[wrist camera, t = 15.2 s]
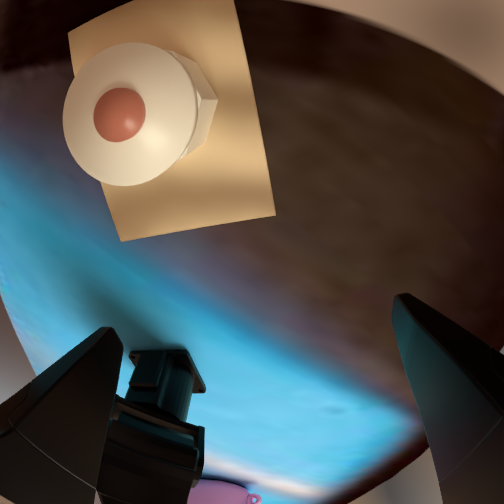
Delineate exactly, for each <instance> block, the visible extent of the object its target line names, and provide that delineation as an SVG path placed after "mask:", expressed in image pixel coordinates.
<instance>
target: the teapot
mask: <svg viewBox="0 0 504 504" xmlns="http://www.w3.org/2000/svg"><path fill="white" fill-rule="evenodd" d="M254 498H256V499H257V501H256V502H255V503H253V502H254ZM260 503H261V497H260V495H258V494H250V493H249V492H248V491H247V490H246V489H245V488H243V487H241V486H238V485H235V484H231V483H227V482H224V481H220V480H204V479H200V480H199V482H198V484H197V485H196V487H195V488H191V490H190V493H189V496H188V501H187V504H260Z"/></svg>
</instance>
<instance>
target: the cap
mask: <svg viewBox="0 0 504 504" xmlns="http://www.w3.org/2000/svg"><path fill="white" fill-rule="evenodd" d="M217 102H218V98H217V96H216V95H215V93H214V91H213V89H212V88H211V86H210V84H209V83H208V81H207V79H206V77H205V76H204V74H203V72H202V71H201V69H200V67H199V66H198V64H197V63H196V62H194V61H192V60H190V59H188V58H186V57H184V56H182V55H180V54H178V53H176V52H174V51H170V50H163V49H161V48H158V47H156V46H153V45H150V44H145V43H136V42H130V43H122V44H118V45H115V46H112V47H109V48H107V49H105V50H103V51H101V52H100V53H98V54H96V55H95V56H94V57H92V58H91V59H90V60H89V61H88V62H87V63H86V64H85V65H84V66H83V67H82V68H81V69H80V71H79V72H78V73H77V75H76V76H75V78H74V80H73V81H72V83H71V85H70V88H69V90H68V93H67V96H66V99H65V103H64V110H63V129H64V135H65V139H66V142H67V145H68V148H69V150H70V152H71V154H72V156H73V157H74V159H75V160H76V162H77V163H78V164H79V165H80V167H81V168H82V169H83V170H84V171H86V172H87V173H88V174H89V175H91V176H92V177H94V178H95V179H97V180H99V181H101V182H104V183H107V184H110V185H115V186H133V185H138V184H142V183H144V182H147V181H150V180H152V179H153V178H155V177H157V176H159V175H160V174H161V173H163V172H164V171H166V170H167V169H168V168H170V167H171V166H172V165H173V164H174V163H175V162H176V161H178V160H180V159H181V158H183V157H185V156H186V155H188V154H189V153H190V152H192V151H193V150H195V149H196V148H198V147H199V146H200V145H202V144H203V143H205V142H206V139H207V136H208V132H209V129H210V125H211V122H212V119H213V115H214V112H215V109H216V106H217Z"/></svg>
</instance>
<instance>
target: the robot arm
mask: <svg viewBox="0 0 504 504" xmlns="http://www.w3.org/2000/svg"><path fill="white" fill-rule="evenodd" d="M392 324H393V328H394V331H395V335H396V339H397V343H398V346H399V350H400V354H401V359H402V362H403V366H404V369H405V372H406V375H407V377H408V380H409V383H410V386H411V389H412V392H413V395H414V398H415V400H416V404H417V407H418V410H419V413H420V416H421V419H422V422H423V426H424V429H425V432H426V436H427V439H428V443H429V446H430V449H431V453H432V457H433V461H434V465H435V469H436V472H437V477H438V481H439V486H440V491H441V496H442V500H443V504H504V355H503V354H502V353H500V352H499V351H497V350H496V349H494V348H493V347H492V348H491V346H490V345H488V344H487V343H485V342H484V341H482V340H481V339H479V338H478V337H476V336H475V335H473V334H472V333H470V332H469V331H467V330H466V329H464V328H463V327H461V326H460V325H458V324H457V323H455V322H454V321H452V320H450V319H449V318H447V317H446V316H444V315H443V314H441V313H440V312H438V311H436V310H435V309H433V308H432V307H430V306H429V305H427V304H425V303H424V302H422V301H421V300H419V299H417V298H416V297H414V296H412V295H411V294H409V293H402V294H397V295H396V296H395V297H394V302H393V310H392ZM123 350H124V349H123V344H122V342H121V340H120V338H119V337H118V335H117V333H116V332H115V330H114V329H113V328H112V327H101V328H99V329H98V330H97V331H95V332H94V333H93V334H91V335H90V336H89V337H87V338H86V339H85V340H83V341H82V342H81V343H80V344H78V345H77V346H76V347H74V348H73V349H72V350H70V351H69V352H68V353H67V354H65V355H64V356H63V357H61V358H60V359H59V360H57V361H56V362H55V363H54V364H52V365H51V366H50V367H48V368H47V369H46V370H45V371H43V372H42V373H41V374H40V375H38V376H37V377H36V378H35V379H33V380H32V381H31V382H30V383H28V384H27V385H26V386H24V387H23V388H22V389H21V390H19V391H18V392H17V393H15V394H14V395H13V396H11V397H10V398H9V399H7V400H6V401H4V402H3V403H2V404H0V504H94V499H95V493H96V490H97V492H98V495H99V498H100V501H101V503H102V504H187V501H188V496H189V493H190V490H191V488H195V487H196V485H197V484H198V482H199V480H200V477H201V474H202V471H203V466H204V434H205V427H202V426H196V425H193V424H190V423H187V422H186V419H187V414H188V410H189V405H190V400H191V396H192V393H205V392H206V387H205V385H204V383H203V381H202V379H201V377H200V375H199V373H198V371H197V369H196V367H195V365H194V363H193V361H192V359H191V357H190V354H189V353H188V352H187V351H185V350H167V351H131V352H130V353H129V358H130V360H131V361H132V363H133V364H134V366H135V369H134V371H133V374H132V376H131V379H130V381H129V385H130V386H129V388H128V391H127V393H126V396H125V399H124V398H122V397H120V396H119V395H117V394H116V390H117V386H118V380H119V374H120V368H121V362H122V356H123Z"/></svg>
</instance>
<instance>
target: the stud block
mask: <svg viewBox="0 0 504 504" xmlns="http://www.w3.org/2000/svg"><path fill="white" fill-rule="evenodd" d="M68 37H69V45H70V52H71V59H72V65H73V71H74V77H75V76H76V75H77V73H78V72H79V71H80V69H81V68H82V67H83V66H84V65H85V64H86V63H87V62H88V61H89V60H90V59H91V58H92V57H94V56H95V55H96V54H98V53H100V52H101V51H103V50H105V49H107V48H109V47H112V46H115V45H118V44H122V43H130V42H136V43H145V44H150V45H153V46H156V47H158V48H161V49H163V50H170V51H174V52H176V53H178V54H180V55H182V56H184V57H186V58H188V59H190V60H192V61H194V62H196V63H197V64H198V66H199V67H200V69H201V71H202V72H203V74H204V76H205V77H206V79H207V81H208V83H209V84H210V86H211V88H212V89H213V91H214V93H215V95H216V96H217V98H218V102H217V106H216V109H215V112H214V115H213V119H212V122H211V125H210V129H209V132H208V136H207V139H206V142H205V143H203V144H202V145H200V146H199V147H198V148H196V149H195V150H193V151H192V152H190V153H189V154H188V155H186V156H185V157H183V158H181V159H180V160H178V161H176V162H175V163H174V164H173V165H172V166H171V167H170V168H168V169H167V170H166V171H164V172H163V173H161V174H160V175H159V176H157V177H155V178H153V179H152V180H150V181H147V182H144V183H142V184H138V185H133V186H115V185H110V184H107V183H104V182H101V181H100V182H101V185H102V188H103V191H104V194H105V198H106V201H107V204H108V206H109V209H110V212H111V215H112V218H113V221H114V224H115V226H116V229H117V232H118V235H119V237H120V240H121V242H123V241H128V240H133V239H139V238H144V237H149V236H155V235H160V234H166V233H171V232H177V231H182V230H188V229H194V228H200V227H206V226H212V225H218V224H224V223H230V222H236V221H242V220H249V219H255V218H261V217H268V216H275V215H276V213H275V205H274V199H273V193H272V188H271V182H270V176H269V171H268V165H267V160H266V154H265V149H264V143H263V138H262V133H261V127H260V122H259V117H258V112H257V107H256V102H255V97H254V92H253V87H252V82H251V77H250V72H249V67H248V62H247V58H246V53H245V48H244V44H243V39H242V34H241V30H240V25H239V21H238V17H237V12H236V8H235V4H234V0H134V1H131V2H129V3H126V4H124V5H122V6H119V7H117V8H115V9H113V10H111V11H108V12H106V13H104V14H102V15H100V16H98V17H96V18H94V19H92V20H90V21H88V22H87V23H85V24H83V25H81V26H79V27H77V28H76V29H74V30H72V31H70V32H69V33H68Z"/></svg>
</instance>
